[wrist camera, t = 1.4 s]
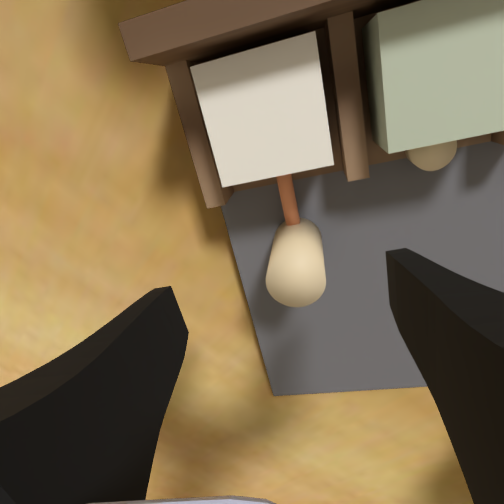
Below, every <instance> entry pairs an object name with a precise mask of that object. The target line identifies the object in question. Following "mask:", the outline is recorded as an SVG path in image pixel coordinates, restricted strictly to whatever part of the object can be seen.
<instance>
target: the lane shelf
mask: <svg viewBox="0 0 504 504" xmlns="http://www.w3.org/2000/svg"><path fill="white" fill-rule="evenodd" d="M418 1H421V0H186V1H183V2H180V3H177V4H174V5H171V6H168V7H165V8H162V9H159V10H156V11H153V12H150V13H147V14H144V15H141V16H138V17H135V18H132V19H129V20H126V21H123V22H120V23H118V25H119V28H120V31H121V34H122V38H123V41H124V44H125V47H126V50H127V53H128V56H129V59H130V61H131V62H139V63H146V64H154V65H161V66H165V67H166V71H167V74H168V78H169V81H170V84H171V88H172V91H173V95H174V98H175V101H176V105H177V108H178V112H179V115H180V118H181V122H182V125H183V128H184V132H185V135H186V139H187V142H188V145H189V149H190V152H191V156H192V159H193V162H194V166H195V169H196V173H197V176H198V179H199V183H200V186H201V190H202V193H203V196H204V200H205V203H206V206H207V209H208V208H213V207H218V206H223V205H226V203H227V202H228V200H229V199H230V197H231V196H232V194H233V193H234V192H237V191H242V190H247V189H252V188H257V187H262V186H267V185H272V184H277V178H276V177H272V178H267V179H262V180H257V181H252V182H247V183H242V184H237V185H232V186H227V187H222V184H221V180H220V177H219V173H218V169H217V165H216V162H215V158H214V154H213V151H212V147H211V143H210V140H209V136H208V132H207V128H206V125H205V121H204V117H203V114H202V110H201V106H200V103H199V99H198V95H197V91H196V88H195V84H194V80H193V77H192V73H191V69H190V67H191V66H195V65H198V64H202V63H205V62H209V61H212V60H216V59H219V58H223V57H226V56H230V55H233V54H237V53H240V52H244V51H247V50H251V49H254V48H258V47H261V46H264V45H268V44H271V43H275V42H278V41H282V40H285V39H289V38H292V37H296V36H299V35H303V34H306V33H310V32H313V31H315V32H316V39H317V47H318V54H319V61H320V68H321V75H322V82H323V89H324V96H325V104H326V111H327V118H328V125H329V132H330V139H331V146H332V154H333V161H334V165H331V166H326V167H321V168H316V169H311V170H306V171H301V172H296V173H292V174H291V176H292V180H297V179H302V178H307V177H312V176H318V175H323V174H328V173H333V172H338V171H344V174H345V176H346V178H347V181H348V182H349V181H355V180H360V179H365V178H370V176H369V166H368V165H373V164H378V163H383V162H388V161H393V160H398V159H403V158H407V156H406V153H405V151H400V152H395V153H390V154H388V153H387V152H386V151H385V150H383V149H382V148H381V147H380V146H379V145H377V144H376V143H375V142H374V141H373V140H372V132H371V122H370V111H369V101H368V90H367V80H366V69H365V59H364V48H363V38H362V28H363V27H364V26H365V25H366V24H367V23H368V22H369V21H370V20H371V19H372V18H373V17H374V16H375V15H376V14H377V13H379V12H383V11H386V10H390V9H393V8H397V7H400V6H404V5H407V4H411V3H414V2H418ZM456 141H457V148H459V147H464V146H469V145H474V144H479V143H484V142H489V141H492V142H495V143H499V144H502V145H504V131H499V132H494V133H489V134H484V135H479V136H474V137H470V138H465V139H460V140H456Z"/></svg>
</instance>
